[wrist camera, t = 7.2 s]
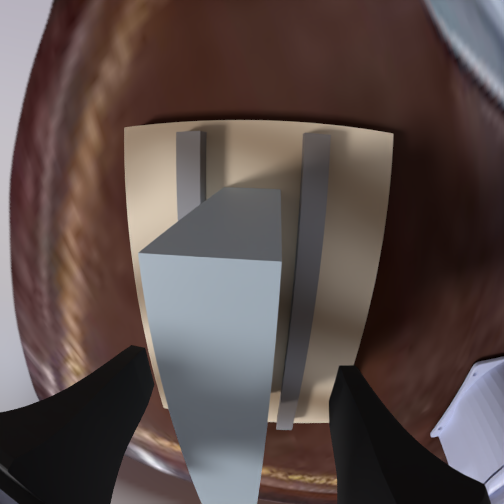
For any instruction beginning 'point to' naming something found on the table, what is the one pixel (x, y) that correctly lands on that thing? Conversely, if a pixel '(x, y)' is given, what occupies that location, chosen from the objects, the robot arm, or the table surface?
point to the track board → (292, 231)
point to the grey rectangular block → (218, 334)
